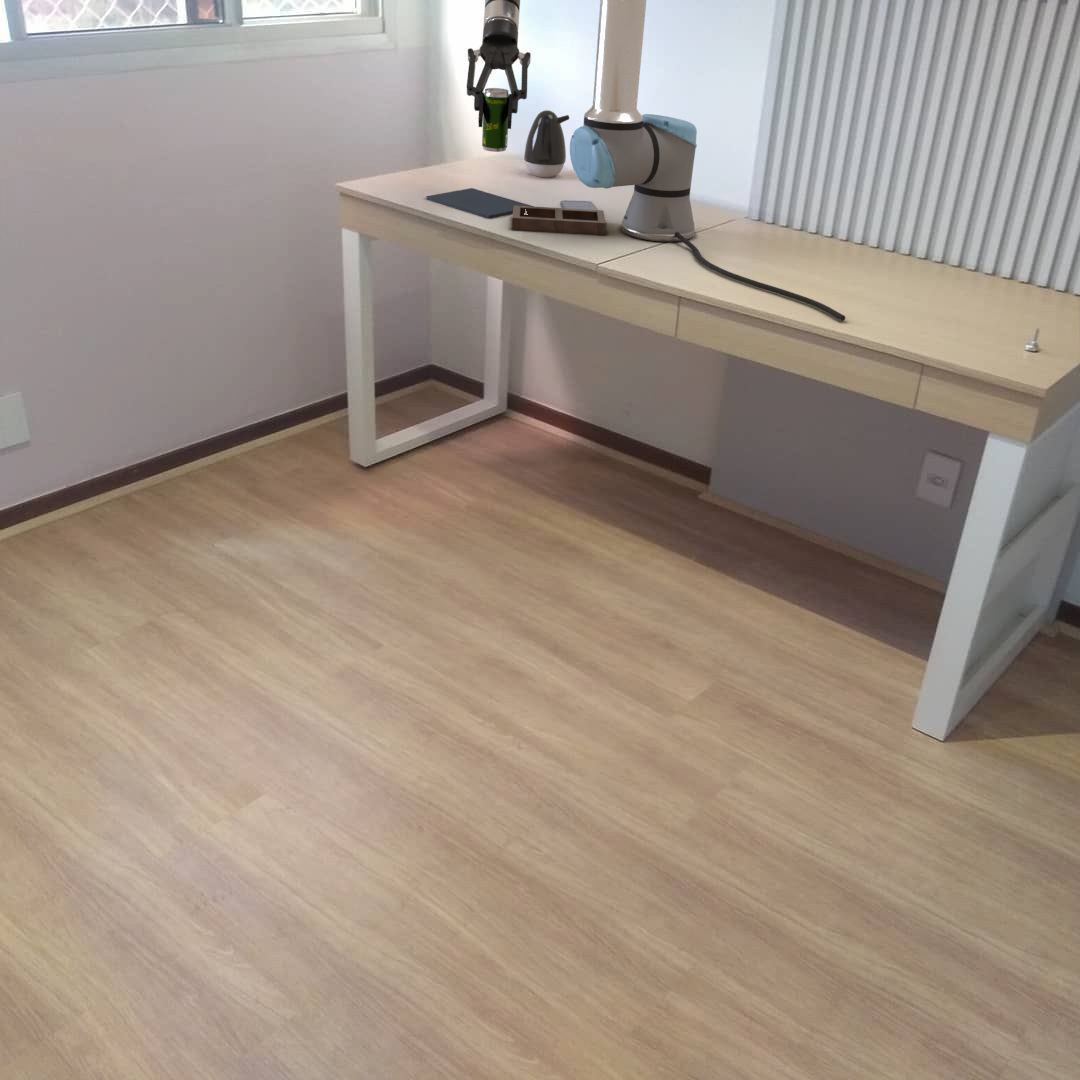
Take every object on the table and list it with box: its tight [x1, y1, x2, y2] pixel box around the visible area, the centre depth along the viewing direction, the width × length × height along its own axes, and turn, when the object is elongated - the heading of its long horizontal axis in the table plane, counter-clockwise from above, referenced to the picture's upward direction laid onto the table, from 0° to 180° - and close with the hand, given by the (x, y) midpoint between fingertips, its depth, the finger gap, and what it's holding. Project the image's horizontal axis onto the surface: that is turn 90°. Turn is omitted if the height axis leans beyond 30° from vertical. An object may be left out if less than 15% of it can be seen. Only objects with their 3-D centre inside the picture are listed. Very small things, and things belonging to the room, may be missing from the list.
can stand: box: [511, 205, 607, 236], centre depth 244 cm, size 19×10×2 cm, turn 90°
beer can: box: [481, 87, 510, 153], centre depth 245 cm, size 5×5×12 cm
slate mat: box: [425, 187, 535, 219], centre depth 257 cm, size 20×14×1 cm
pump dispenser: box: [523, 109, 570, 179], centre depth 281 cm, size 10×10×15 cm
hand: (494, 123), depth 242 cm, fingers closed on beer can, 5 cm apart
